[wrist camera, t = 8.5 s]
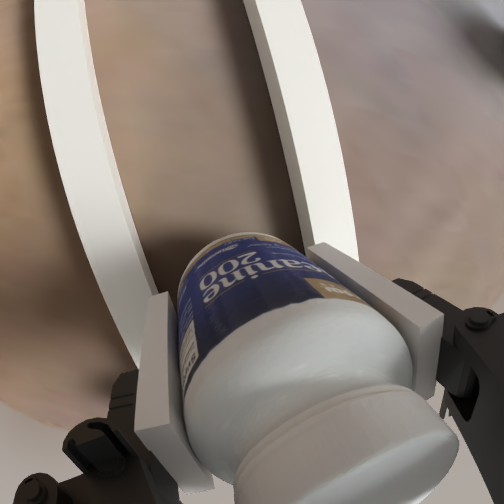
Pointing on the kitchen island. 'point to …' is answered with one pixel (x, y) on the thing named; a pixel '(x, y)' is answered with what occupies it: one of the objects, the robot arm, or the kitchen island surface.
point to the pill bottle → (300, 383)
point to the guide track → (105, 169)
